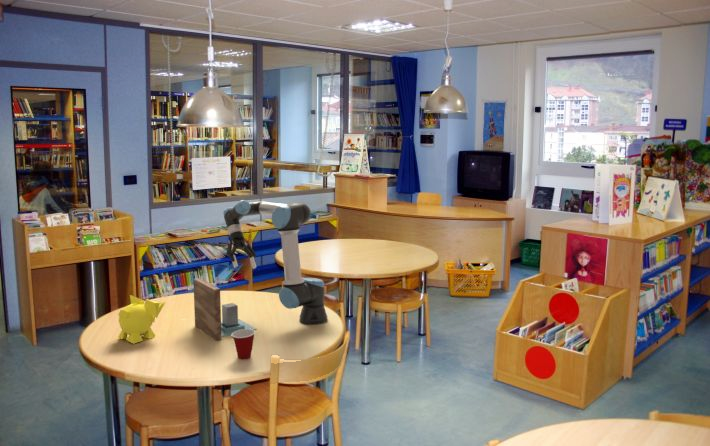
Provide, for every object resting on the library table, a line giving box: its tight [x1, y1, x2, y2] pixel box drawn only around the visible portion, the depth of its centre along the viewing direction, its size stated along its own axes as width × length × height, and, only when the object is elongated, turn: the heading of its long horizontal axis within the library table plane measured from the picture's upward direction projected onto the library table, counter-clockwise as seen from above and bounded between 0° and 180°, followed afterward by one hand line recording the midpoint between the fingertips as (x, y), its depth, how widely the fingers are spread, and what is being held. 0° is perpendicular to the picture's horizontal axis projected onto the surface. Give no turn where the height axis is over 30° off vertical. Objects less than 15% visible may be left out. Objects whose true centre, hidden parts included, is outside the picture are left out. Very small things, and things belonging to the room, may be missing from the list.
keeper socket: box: [221, 318, 257, 338], centre depth 321 cm, size 20×20×2 cm
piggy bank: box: [117, 294, 166, 345], centre depth 305 cm, size 20×20×19 cm
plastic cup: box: [230, 329, 256, 360], centre depth 280 cm, size 11×11×12 cm
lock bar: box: [221, 302, 239, 328], centre depth 320 cm, size 6×6×12 cm
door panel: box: [192, 277, 223, 341], centre depth 311 cm, size 4×26×26 cm, turn 37°
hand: (245, 267), depth 339 cm, fingers open, 13 cm apart
